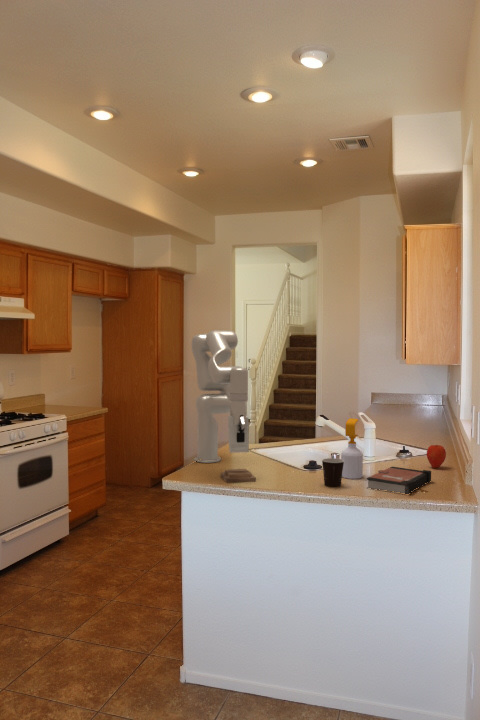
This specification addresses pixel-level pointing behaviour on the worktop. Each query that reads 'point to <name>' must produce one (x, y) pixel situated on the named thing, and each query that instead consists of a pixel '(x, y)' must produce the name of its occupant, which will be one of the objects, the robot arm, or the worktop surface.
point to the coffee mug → (332, 472)
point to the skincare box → (233, 444)
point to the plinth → (232, 480)
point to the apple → (436, 455)
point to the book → (399, 479)
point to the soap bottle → (352, 454)
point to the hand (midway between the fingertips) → (238, 440)
